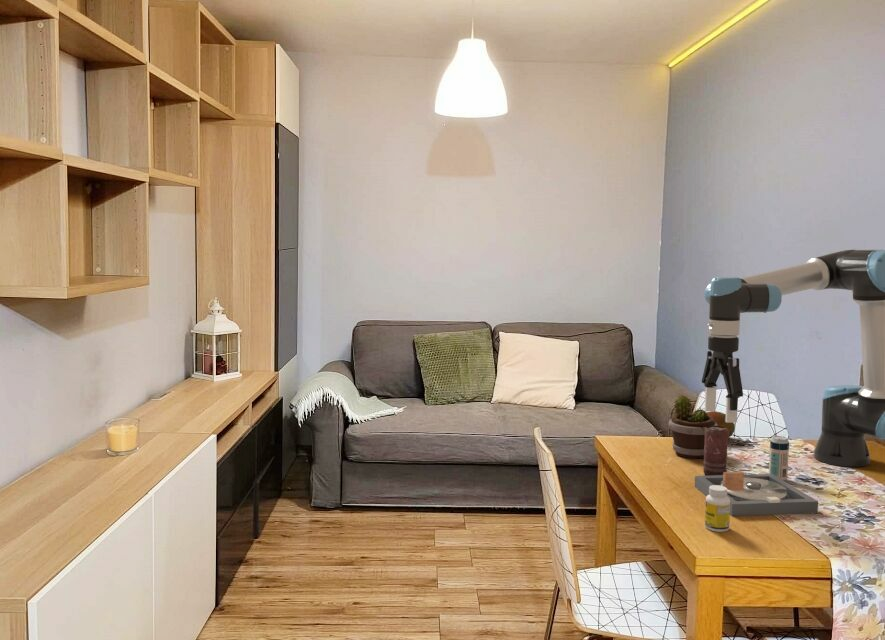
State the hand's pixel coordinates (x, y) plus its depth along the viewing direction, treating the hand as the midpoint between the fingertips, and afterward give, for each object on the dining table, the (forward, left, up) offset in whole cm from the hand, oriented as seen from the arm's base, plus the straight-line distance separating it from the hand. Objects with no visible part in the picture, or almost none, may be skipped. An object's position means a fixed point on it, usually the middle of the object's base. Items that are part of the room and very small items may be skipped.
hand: (720, 416), depth 198 cm
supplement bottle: (+11, +24, -21) cm, 34 cm away
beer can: (-22, -9, -21) cm, 31 cm away
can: (-6, -14, -21) cm, 25 cm away
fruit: (-23, -51, -21) cm, 59 cm away
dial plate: (-7, +6, -21) cm, 23 cm away
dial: (-7, +6, -19) cm, 21 cm away
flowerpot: (-8, -35, -21) cm, 41 cm away
